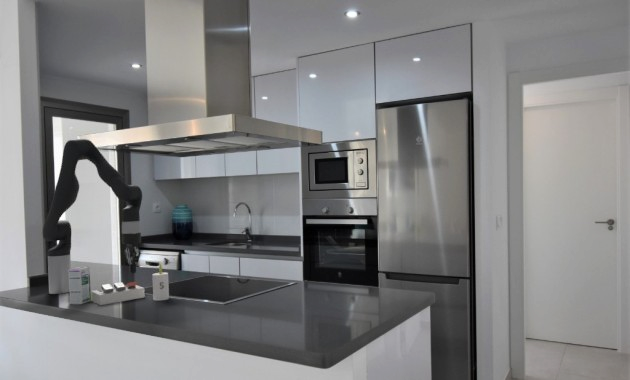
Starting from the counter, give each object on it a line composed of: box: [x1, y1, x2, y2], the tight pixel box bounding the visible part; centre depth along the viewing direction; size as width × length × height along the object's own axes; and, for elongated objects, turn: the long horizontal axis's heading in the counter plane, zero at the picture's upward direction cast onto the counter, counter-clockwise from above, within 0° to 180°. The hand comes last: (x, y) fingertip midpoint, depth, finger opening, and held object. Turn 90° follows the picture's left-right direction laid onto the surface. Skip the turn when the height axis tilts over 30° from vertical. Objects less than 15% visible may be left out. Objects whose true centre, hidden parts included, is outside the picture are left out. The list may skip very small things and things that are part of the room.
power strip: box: [90, 285, 153, 306], centre depth 203 cm, size 12×24×5 cm, turn 131°
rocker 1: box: [101, 283, 114, 293], centre depth 196 cm, size 5×3×2 cm, turn 41°
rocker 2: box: [113, 281, 126, 291], centre depth 200 cm, size 5×3×2 cm, turn 41°
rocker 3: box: [125, 281, 139, 288], centre depth 203 cm, size 5×3×2 cm, turn 42°
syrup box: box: [68, 266, 92, 305], centre depth 197 cm, size 6×6×14 cm
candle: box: [151, 262, 170, 301], centre depth 199 cm, size 6×6×15 cm
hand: (132, 272), depth 201 cm, fingers closed
